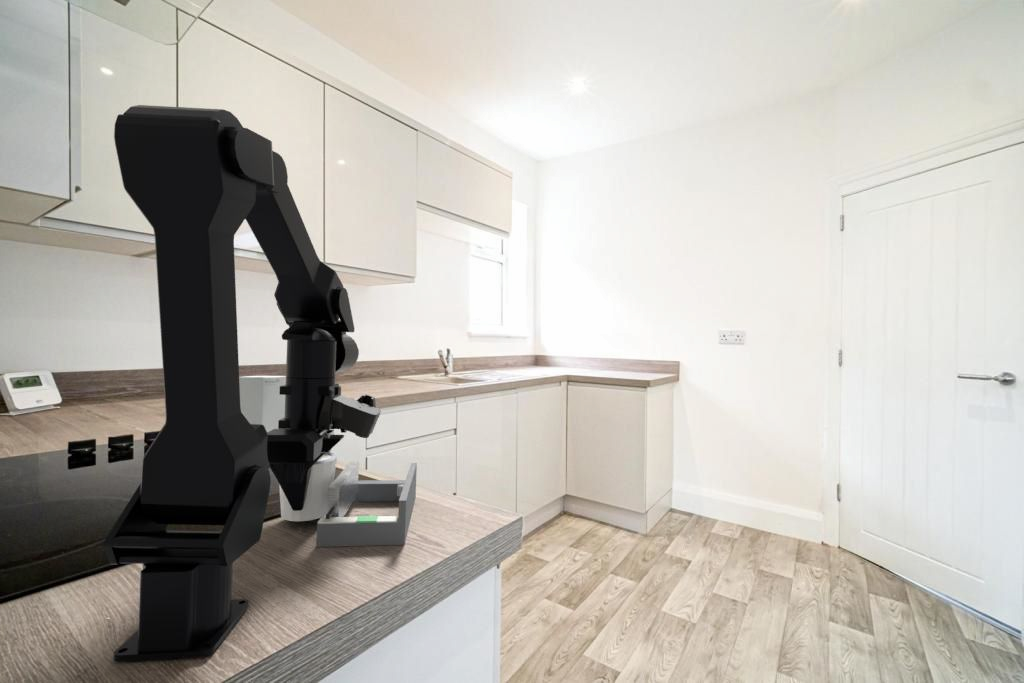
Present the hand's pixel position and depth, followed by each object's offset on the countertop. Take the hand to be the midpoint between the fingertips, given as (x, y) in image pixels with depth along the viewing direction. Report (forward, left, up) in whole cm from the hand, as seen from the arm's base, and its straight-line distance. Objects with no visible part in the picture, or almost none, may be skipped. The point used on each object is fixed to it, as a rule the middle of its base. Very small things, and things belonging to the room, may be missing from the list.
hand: (306, 500), depth 57 cm
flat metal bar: (-1, -5, -1) cm, 5 cm away
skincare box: (+37, +20, -3) cm, 42 cm away
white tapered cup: (0, 0, -2) cm, 2 cm away
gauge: (0, -8, -2) cm, 8 cm away
